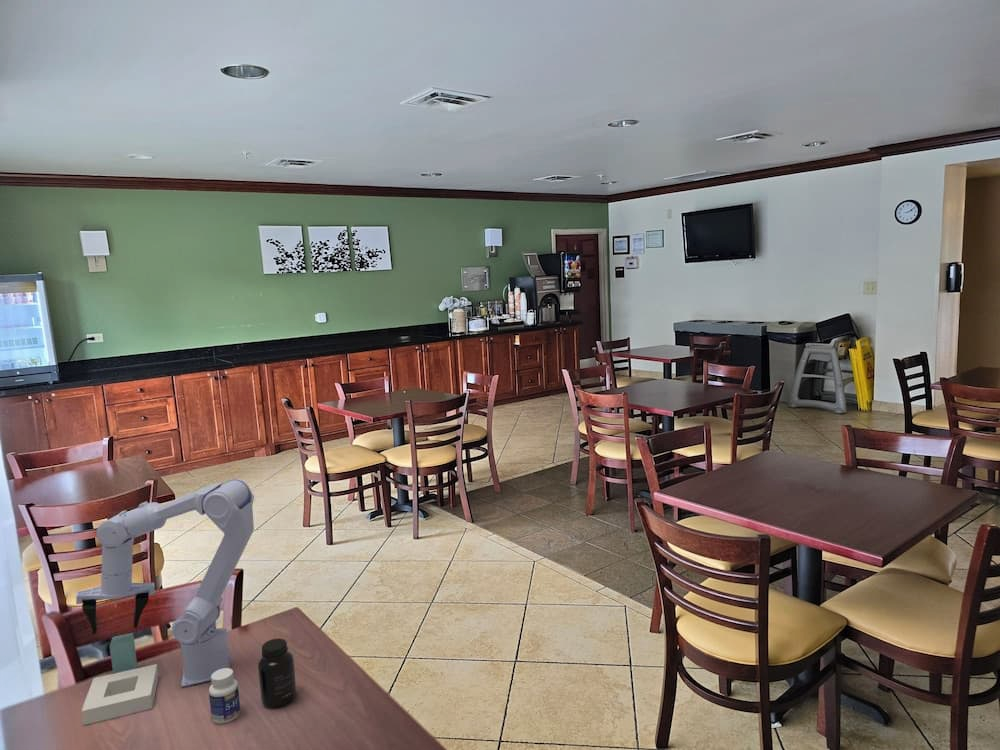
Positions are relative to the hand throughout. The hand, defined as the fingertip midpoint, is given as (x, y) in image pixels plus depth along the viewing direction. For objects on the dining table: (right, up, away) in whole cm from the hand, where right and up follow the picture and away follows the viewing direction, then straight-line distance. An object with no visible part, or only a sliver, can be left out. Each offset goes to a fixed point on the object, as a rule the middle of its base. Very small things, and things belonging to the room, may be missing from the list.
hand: (115, 628), depth 143 cm
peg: (+1, -11, +2) cm, 11 cm away
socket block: (+6, -12, -8) cm, 15 cm away
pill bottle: (+30, -12, -14) cm, 35 cm away
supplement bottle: (+39, -11, -10) cm, 42 cm away
